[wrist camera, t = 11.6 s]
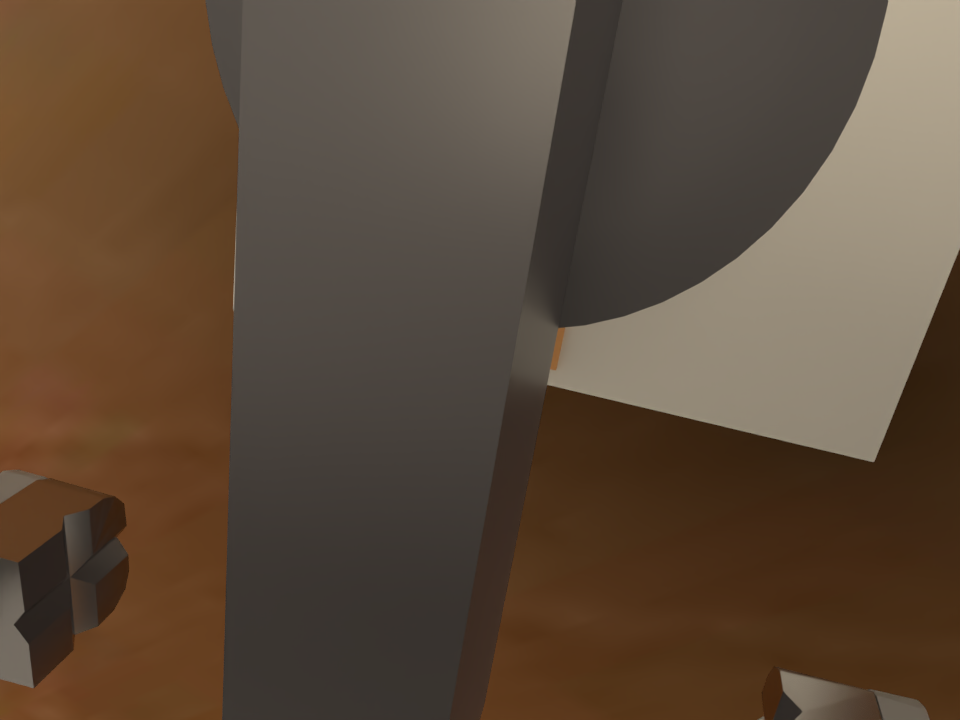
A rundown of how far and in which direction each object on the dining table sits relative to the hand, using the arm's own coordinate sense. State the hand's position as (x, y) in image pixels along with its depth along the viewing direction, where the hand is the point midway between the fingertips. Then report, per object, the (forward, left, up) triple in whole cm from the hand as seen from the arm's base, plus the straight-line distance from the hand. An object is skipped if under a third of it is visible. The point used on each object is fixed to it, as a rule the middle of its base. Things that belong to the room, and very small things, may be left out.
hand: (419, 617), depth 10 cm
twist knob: (0, -4, -4) cm, 6 cm away
